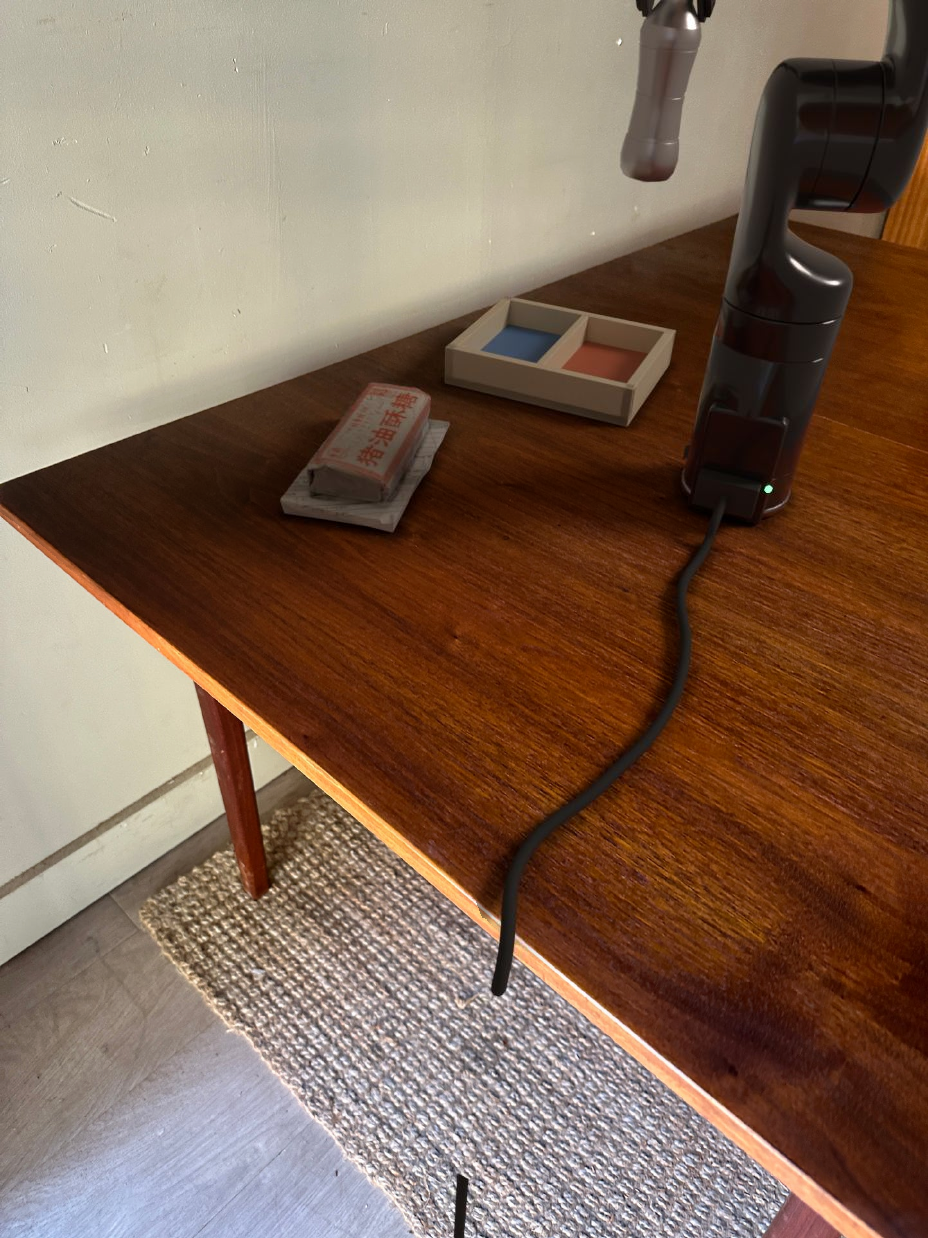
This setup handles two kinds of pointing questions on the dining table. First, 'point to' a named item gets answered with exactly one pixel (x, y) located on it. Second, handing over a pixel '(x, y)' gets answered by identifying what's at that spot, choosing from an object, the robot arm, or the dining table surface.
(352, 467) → the packaged product
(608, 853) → the dining table surface
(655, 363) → the sorting tray
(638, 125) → the plastic bottle
